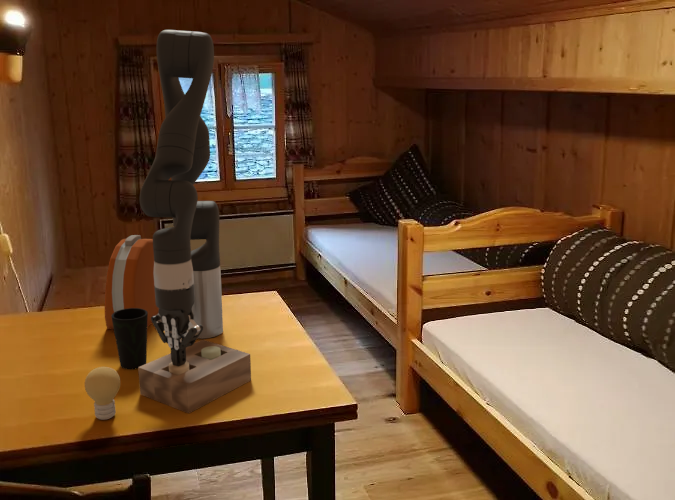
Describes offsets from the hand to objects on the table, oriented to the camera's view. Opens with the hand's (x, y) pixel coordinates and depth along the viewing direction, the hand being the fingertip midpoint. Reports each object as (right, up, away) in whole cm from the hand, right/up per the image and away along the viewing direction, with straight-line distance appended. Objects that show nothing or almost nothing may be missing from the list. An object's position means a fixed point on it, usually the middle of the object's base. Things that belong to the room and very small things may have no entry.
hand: (179, 364), depth 142 cm
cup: (-14, -3, +16) cm, 22 cm away
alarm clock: (-21, +4, +44) cm, 49 cm away
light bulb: (-12, -9, -7) cm, 17 cm away
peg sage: (+5, -5, +9) cm, 11 cm away
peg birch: (0, -6, +2) cm, 7 cm away
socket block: (+3, -6, +5) cm, 8 cm away
